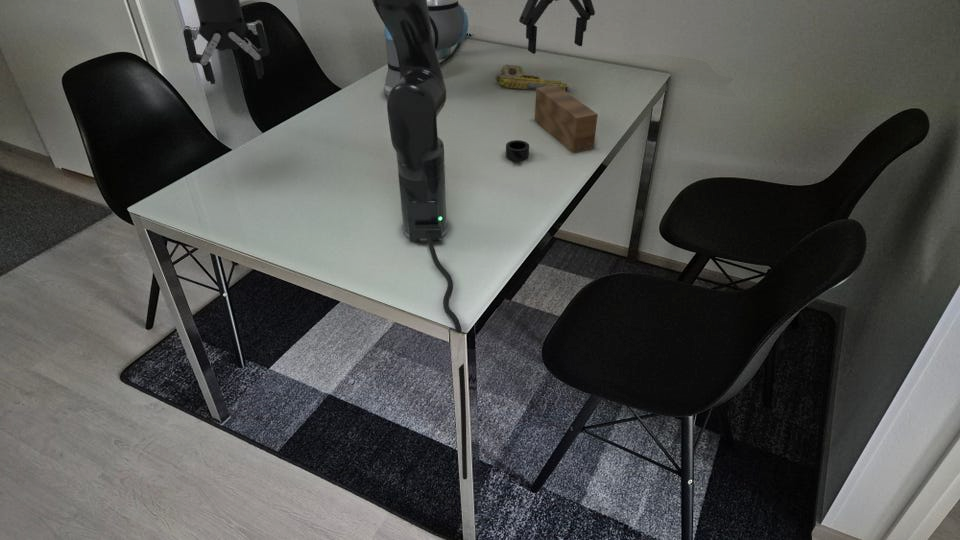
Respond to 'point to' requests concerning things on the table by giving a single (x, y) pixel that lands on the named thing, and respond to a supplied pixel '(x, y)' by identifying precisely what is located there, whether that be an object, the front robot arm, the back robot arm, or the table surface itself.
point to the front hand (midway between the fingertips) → (236, 80)
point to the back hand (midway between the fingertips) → (555, 48)
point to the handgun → (524, 79)
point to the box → (565, 118)
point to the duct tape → (517, 150)
